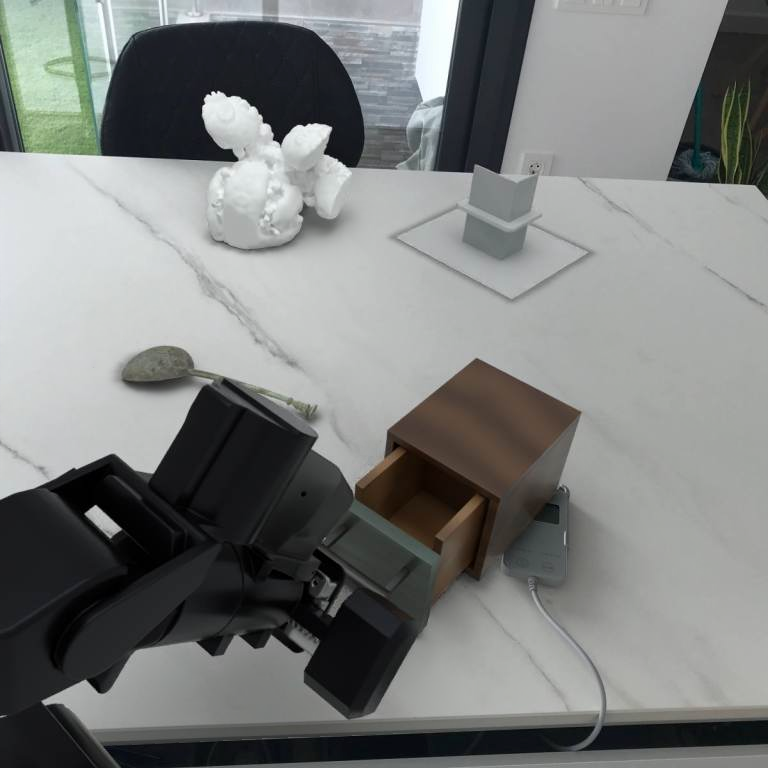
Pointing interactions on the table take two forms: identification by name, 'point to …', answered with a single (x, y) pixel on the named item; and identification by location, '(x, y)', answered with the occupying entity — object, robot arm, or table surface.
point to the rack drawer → (408, 532)
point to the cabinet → (492, 447)
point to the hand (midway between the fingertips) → (330, 579)
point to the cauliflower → (268, 176)
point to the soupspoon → (187, 372)
